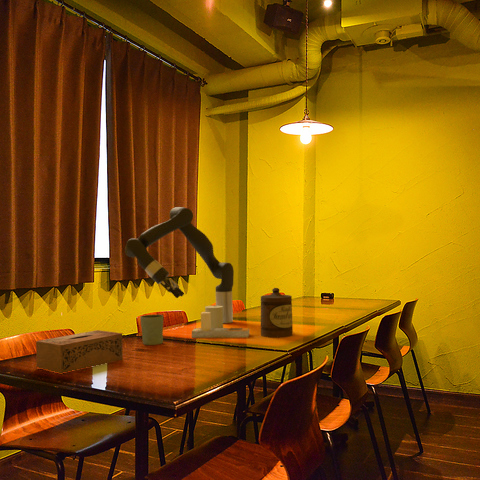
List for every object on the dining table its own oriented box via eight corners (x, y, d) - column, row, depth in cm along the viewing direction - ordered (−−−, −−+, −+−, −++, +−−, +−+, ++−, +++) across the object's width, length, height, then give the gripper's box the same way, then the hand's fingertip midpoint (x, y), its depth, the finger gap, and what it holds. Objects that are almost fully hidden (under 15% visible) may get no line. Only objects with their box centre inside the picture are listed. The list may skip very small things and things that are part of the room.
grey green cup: (158, 345, 204) (158, 317, 204) (136, 345, 206) (136, 317, 206) (167, 341, 214) (166, 314, 214) (145, 340, 216) (145, 314, 216)
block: (202, 335, 227) (202, 312, 227) (211, 335, 226) (210, 312, 227) (201, 336, 223) (200, 313, 223) (209, 336, 222) (209, 313, 223)
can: (224, 327, 247) (224, 304, 248) (222, 330, 238) (221, 306, 239) (207, 328, 248) (206, 304, 249) (203, 331, 239) (203, 306, 239)
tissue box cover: (98, 355, 187) (97, 330, 187) (122, 360, 178) (122, 333, 179) (36, 369, 166) (36, 341, 166) (60, 375, 158) (60, 345, 158)
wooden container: (276, 339, 214) (275, 289, 214) (254, 334, 225) (253, 288, 226) (299, 334, 223) (298, 287, 224) (277, 331, 235) (276, 286, 235)
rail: (195, 334, 229) (195, 327, 229) (249, 334, 227) (249, 327, 227) (191, 337, 221) (191, 330, 221) (247, 337, 219) (247, 330, 219)
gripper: (158, 266, 220) (183, 291, 219) (166, 265, 234) (189, 289, 233) (147, 278, 221) (171, 303, 219) (155, 276, 235) (178, 300, 233)
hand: (180, 296), depth 226 cm, fingers open, 8 cm apart
